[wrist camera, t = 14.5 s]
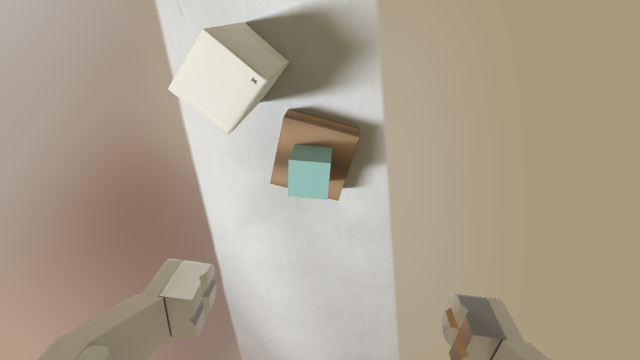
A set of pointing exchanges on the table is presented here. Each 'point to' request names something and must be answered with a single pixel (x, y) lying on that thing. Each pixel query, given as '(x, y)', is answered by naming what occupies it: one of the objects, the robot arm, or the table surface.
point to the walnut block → (316, 133)
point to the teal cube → (309, 171)
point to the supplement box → (227, 74)
